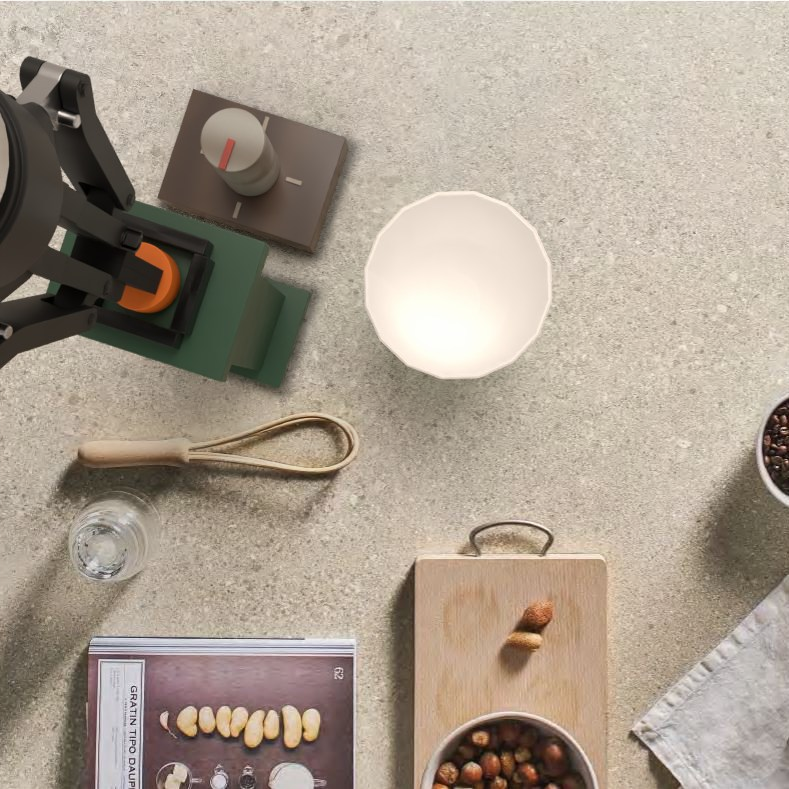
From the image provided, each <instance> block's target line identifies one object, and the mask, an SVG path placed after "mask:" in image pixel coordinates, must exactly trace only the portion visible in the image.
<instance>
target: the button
mask: <svg viewBox="0 0 789 789" xmlns="http://www.w3.org/2000/svg"><path fill="white" fill-rule="evenodd" d="M135 256H137V257H139V258H141V259H143V260H145V261H147V262H148V263H150V264H152V265H154V266H156V267H158V268H160V269H161V270H163V274H162V277H161V280H160V283H159V286H158V289H157V292H156V295H154V294H151V293H148V292H145V291H142V290H139V289H136V288H133V287H130V286H127V285H126V287H125V290H124V293H123V296H122V299H121V301H119V302H117V303H118V304H119V305H121V306H123V307H125V308H128V309H131V310H134V311H136V312H140V313H155V312H159V311H161V310H163V309H165V308H167V307H168V306H169V305H170V304H171V303H172V302H173V301H174V300H175V298H176V296H177V294H178V292H179V289H180V283H181V277H180V272H179V269H178V266H177V264H176V263H175V261H174V260H173V259H172V258H171V257H170V256H169V255H168V254H167V253H165V252H164V251H162V250H160V249H159V248H157V247H155V246H154V245H151V244H149V243H145V242H142V243H141V246H140V248H139V250H138V251H137V252H136V254H135Z"/></svg>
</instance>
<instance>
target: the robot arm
mask: <svg viewBox="0 0 789 789" xmlns="http://www.w3.org/2000/svg"><path fill="white" fill-rule="evenodd" d="M18 76H19V83H20V86H21V87H20V88H21V91H22V92H21V93H20V94H19V95H18V96H17V97H16V96H14V95H12V94H9V93H6V92H4V91H3V90H2V89H0V370H2V368H3V367H5V366H6V365H7V364H8V363H9V362H11V361H12V360H13V359H14V358H15V357H16V356H17V355H19V354H23V353H25V352H29V351H31V350H34V349H37V348H40V347H43V346H47V345H50V344H53V343H56V342H59V341H62V340H65V339H68V338H72V337H74V336H79V335H78V334H81V333H84V332H87V331H89V330H91V329H92V328H93V326H94V325H95V323H96V320H97V309H96V308H94V307H92V306H93V304H94V302H95V301H96V300H97V299H98V298H100V297H101V298H104V299H107V300H110V301H113V302H116V303H117V302H119V301H121V299H122V296H123V293H124V290H125V287H126V285H127V286H130V287H133V288H136V289H139V290H142V291H145V292H148V293H151V294H154V295H156V292H157V289H158V286H159V283H160V280H161V277H162V274H163V270H161V269H160V268H158V267H156V266H154V265H152V264H150V263H148V262H147V261H145V260H143V259H141V258H139V257H137V256H135V254H136V252H137V251H138V250H139V248H140V246H141V243H142V238H143V233H142V231H141V230H139V229H136V228H132V227H129V226H127V225H125V224H123V223H122V212H123V211H126V212H128V211H130V210H131V208H132V206H133V204H134V203H135V200H136V198H137V196H136V189H135V187H134V185H133V183H132V181H131V180H130V178H129V176H128V174H127V171H126V169H125V168H124V166H123V163H122V161H121V160H120V157H119V156H118V154H117V152H116V150H115V148H114V146H113V143H112V142H111V140H110V138H109V136H108V134H107V132H106V130H105V128H104V127H103V124H102V122H101V120H100V118H99V116H98V114H97V110H96V109H97V108H96V104H95V98H94V92H93V84H92V80H91V76H90V75H89V74H88V73H84V72H81V71H78V70H74V69H73V68H69V67H66V66H62V65H60V64H56V63H54V62H50V61H47V60H43V59H40V58H38V57H35V56H31V55H27V56H26V57H24V59H23V60H22V62H21V64H20V66H19V72H18ZM62 171H63V172H62ZM63 173H64V174H65V176H66V177H67V179H68V180H69V182H70V184H71V185H72V186H73V188H72V187H71V186H70V184H69V183H67V182H66V181H64V179H63ZM57 227H60V228H61V229H64V230H66V231H67V230H68V231H70V232H72V233H74V234H76V235H77V237H76V240H75V243H74V246H73V249H72V252H71V255H70V257H69V256H68V255H67V254H65V253H62V252H60V250H58V249H56V248H53V247H51V246H50V243H51V241H52V239H53V237H54V235H55V232H56V230H57ZM79 235H80V236H79ZM33 275H34V276H37V277H40V278H43V279H45V280H47V281H49V282H50V281H53V282H56V283H59V284H61V285H60V287H59V289H58V291H57V293H56V295H54V294H51V293H46V292H45V293H40V294H34V295H31V296H26V297H21V298H15V299H12V300H6V299H7V298H8V297H9V296H10V295H12V294H13V293H15V291H17V290H18V289H19V288H20V287H22V286H23V285H24V284H25V283H27V282H28V281H29V280H30V279H31V278H32V277H33ZM4 300H6V301H4Z"/></svg>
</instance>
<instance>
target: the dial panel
mask: <svg viewBox="0 0 789 789" xmlns="http://www.w3.org/2000/svg"><path fill="white" fill-rule="evenodd" d="M227 108H238V109H243V110H245V111H247V112H249V113H251V114H252V115H253V116H255V117H256V118H257V120H258V121H259V122H260V124H261V126H262V128H263V129H264V131H265V133H266V135H267V137H268V139H269V141H270V142H271V144H272V146H273V148H274V150H275V152H276V154H277V156H278V158H279V163H280V171H279V176H278V178H277V181H276V182H275V184H274V185H273V186H272V187H271V188H270V189H269V190H268V191H267V192H265V193H263V194H260V195H257V196H245V195H241V194H239V193H237V192H235V191H234V190H232V189H231V188H230V187H229V185H228V184H227V183H226V182H225V181H224V179H223V178H222V177H221V176H220V175H219V173H218V172H217V171H216V170H215V169H214V167H213V166H212V165H211V164H210V163H209V161H208V160H207V159H206V157H205V156H204V154H203V151H202V148H201V133H202V129H203V127H204V125H205V123H206V122H207V120H208V119H209V118H210V117H211V116H212V115H214V114H215V113H217V112H218V111H221V110H223V109H227ZM178 130H179V131H178V133H177V136H176V140H175V142H174V146H173V148H172V152H171V155H170V157H169V160H168V164H167V167H166V170H165V173H164V176H163V178H162V183H161V185H160V187H159V191H158V194H157V199H158V200H159V201H160V202H161V203H163V204H164V205H166V206H167V207H170V208H172V209H176V210H179V211H182V212H185V213H188V214H191V215H195V216H198V217H201V218H204V219H207V220H210V221H213V222H216V223H219V224H222V225H225V226H229V227H231V228H235V229H237V230H241V231H243V232H247V233H250V234H252V235H256V236H259V237H263V238H265V239H268V240H272V241H274V242H277V243H280V244H284V245H287V246H289V247H293V248H296V249H298V250H302V251H306V252H308V253H311V254H314V253H315V251H316V247H317V245H318V242H319V239H320V235H321V233H322V229H323V226H324V224H325V221H326V217H327V214H328V212H329V208H330V205H331V202H332V199H333V197H334V193H335V191H336V190H335V189H336V187H337V184H338V181H339V178H340V174H341V172H342V168H343V166H344V162H345V159H346V156H347V154H348V151H349V146H348V141H347V138H346V137H344V136H343V135H339V134H336V133H332V132H329V131H327V130H323V129H320V128H317V127H313V126H311V125H307V124H305V123H301V122H298V121H295V120H292V119H289V118H285V117H284V116H283V117H282V116H279V115H276V114H273V113H270V112H268V111H264V110H261V109H258V108H255V107H251V106H248V105H245V104H242V103H240V102H237V101H233V100H230V99H226V98H223V97H220V96H217V95H214V94H211V93H208V92H204V91H202V90H199V89H195V88H193V89H192V91H191V93H190V97H189V100H188V102H187V106H186V109H185V111H184V115H183V118H182V121H181V124H180V127H179V129H178Z"/></svg>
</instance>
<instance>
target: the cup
mask: <svg viewBox="0 0 789 789" xmlns="http://www.w3.org/2000/svg"><path fill="white" fill-rule="evenodd" d="M362 270H363V273H362V274H363V302H364V303H363V304H364V305H363V306H364V309H365V311H366V313H367V315H368V317H369V320H370V322H371V324H372V326H373V329H374V331H375V333H376V335H377V338H378V340H379V342H381V343H382V344H383V345H384V346H385V347H386V348H387V349H388V350H389V351H390V352H391V353H392V354H393V355H394V356H396V357H397V358H398V359H399V360H400V361H401V362H402V363H403V364H404V365H405V366H406V367H408V368H411V369H413V370H416V371H419V372H421V373H425V374H427V375H430V376H432V377H435V378H437V379H439V380H462V379H463V380H465V379H480V378H483V377H485V376H487V375H490V374H492V373H494V372H496V371H499V370H501V369H503V368H505V367H508V366H510V365H512V364H514V363H515V362H516V361H517V360H518V359H519V357H521V356H522V354H523V353H525V351H526V350H527V349H528V348H529V347H530V346H531V345H532V344H533V343H534V342H535V341H536V340H537V339H538V337H539V336H540V334H541V332H542V330H543V326H544V324H545V321H546V318H547V316H548V313H549V310H550V307H551V306H552V302H553V281H552V280H553V279H552V278H553V276H552V272H553V271H552V261H551V259H550V257H549V255H548V253H547V251H546V248H545V247H544V244H543V242H542V240H541V237H540V235H539V233H538V231H537V229H536V228H535V227H534V225H532V224H531V223H530V222H529V221H528V220H526V218H525V217H523V216H522V215H521V213H519V212H518V211H517V210H516V209H515V208H514V207H513V206H512V205H510V203H508V202H505V201H503V200H500V199H497V198H494V197H491V196H489V195H486V194H484V193H481V192H478V191H476V190H456V191H455V190H454V191H453V190H452V191H451V190H449V191H435V192H433V193H431V194H428V195H426V196H424V197H421V198H419V199H417V200H415V201H413V202H410V203H409V204H406V205H404V206H402V207H401V208H400V209H399V210H398V211H397V212H396V213H395V214H394V215H393V216H392V218H391V219H389V221H388V222H386V224H385V225H384V226H383V227H382V228H381V229H380V230H379V231H378V232H377V233H376V234H375V238H374V239H373V243H372V246H371V248H370V251H369V253H368V256H367V258H366V260H365V264H364V267H363V269H362Z"/></svg>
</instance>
